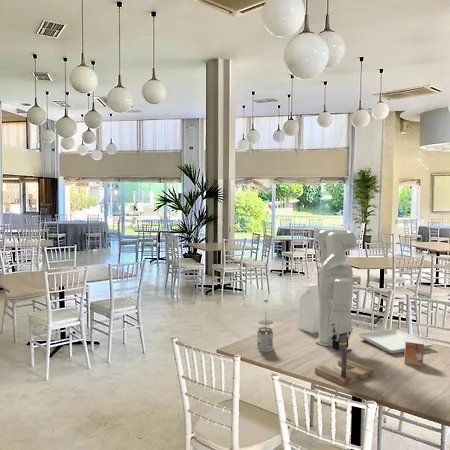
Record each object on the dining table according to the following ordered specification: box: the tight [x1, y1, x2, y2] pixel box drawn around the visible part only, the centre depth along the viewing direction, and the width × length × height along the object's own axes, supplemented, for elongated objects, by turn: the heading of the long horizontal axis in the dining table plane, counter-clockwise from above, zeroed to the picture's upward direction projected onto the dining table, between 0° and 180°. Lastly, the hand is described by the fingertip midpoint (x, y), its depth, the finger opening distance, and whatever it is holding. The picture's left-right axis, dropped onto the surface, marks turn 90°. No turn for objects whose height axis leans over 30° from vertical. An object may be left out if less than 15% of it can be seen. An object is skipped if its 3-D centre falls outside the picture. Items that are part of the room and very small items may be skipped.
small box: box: [403, 339, 425, 367], centre depth 208 cm, size 8×6×10 cm
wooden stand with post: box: [314, 348, 376, 387], centre depth 194 cm, size 20×16×14 cm
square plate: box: [357, 329, 434, 354], centre depth 235 cm, size 27×27×4 cm
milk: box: [296, 283, 319, 334], centre depth 259 cm, size 12×12×26 cm
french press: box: [255, 299, 275, 352], centre depth 226 cm, size 10×12×25 cm
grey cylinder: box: [333, 333, 347, 353], centre depth 195 cm, size 5×5×7 cm
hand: (340, 347), depth 196 cm, fingers closed on grey cylinder, 5 cm apart
